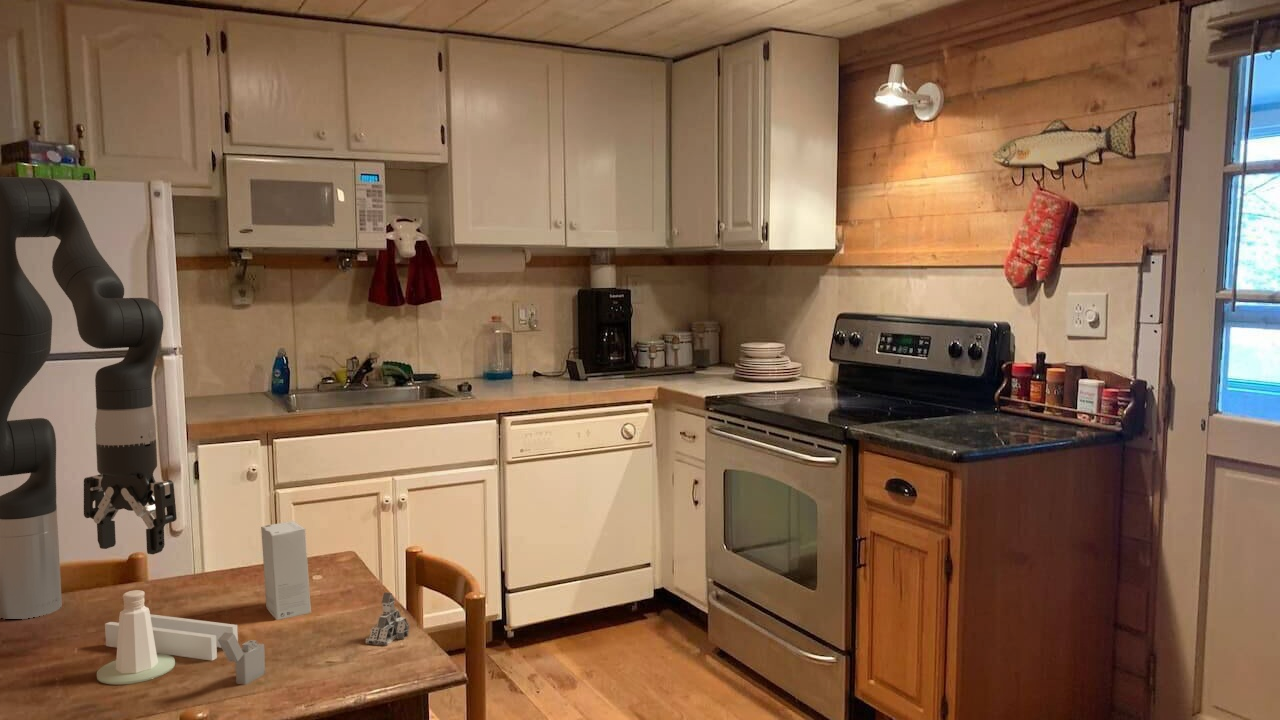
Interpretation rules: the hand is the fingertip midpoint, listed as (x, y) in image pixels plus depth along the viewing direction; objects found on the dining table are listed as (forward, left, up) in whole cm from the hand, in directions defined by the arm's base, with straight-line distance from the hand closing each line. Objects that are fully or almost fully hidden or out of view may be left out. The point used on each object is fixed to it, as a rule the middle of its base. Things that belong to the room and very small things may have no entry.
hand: (131, 550), depth 135 cm
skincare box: (+5, +27, -18) cm, 33 cm away
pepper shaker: (0, 0, -17) cm, 17 cm away
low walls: (-2, +9, -18) cm, 20 cm away
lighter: (+18, +1, -18) cm, 25 cm away
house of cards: (+31, +21, -18) cm, 41 cm away
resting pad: (0, 0, -18) cm, 18 cm away
